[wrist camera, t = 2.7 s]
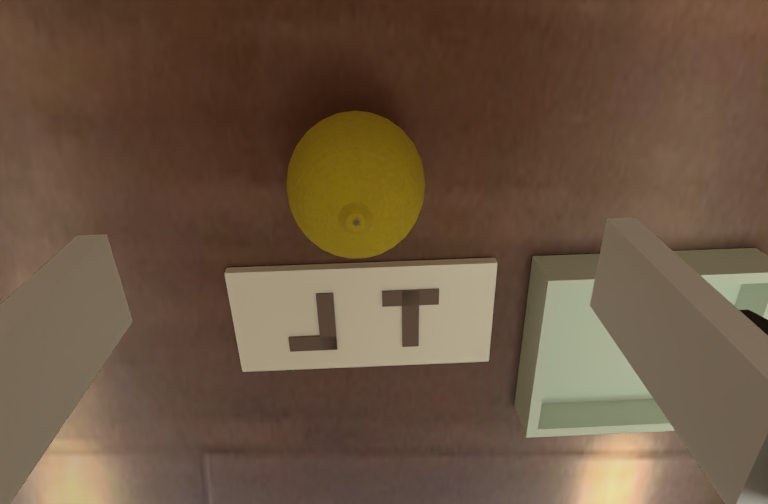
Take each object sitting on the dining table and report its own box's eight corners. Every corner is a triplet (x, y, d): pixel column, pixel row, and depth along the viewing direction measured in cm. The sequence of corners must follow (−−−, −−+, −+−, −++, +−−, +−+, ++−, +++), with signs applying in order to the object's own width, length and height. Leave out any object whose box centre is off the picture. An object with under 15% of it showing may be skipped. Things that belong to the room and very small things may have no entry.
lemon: (414, 207, 26) (434, 291, 19) (302, 209, 26) (280, 295, 19) (416, 93, 24) (441, 140, 16) (292, 94, 23) (263, 143, 16)
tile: (244, 365, 30) (241, 373, 29) (227, 267, 27) (223, 274, 26) (486, 354, 30) (489, 363, 30) (494, 257, 28) (498, 264, 27)
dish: (514, 405, 32) (526, 437, 30) (532, 256, 28) (548, 280, 25) (705, 396, 33) (731, 428, 30) (755, 247, 28) (791, 271, 26)
